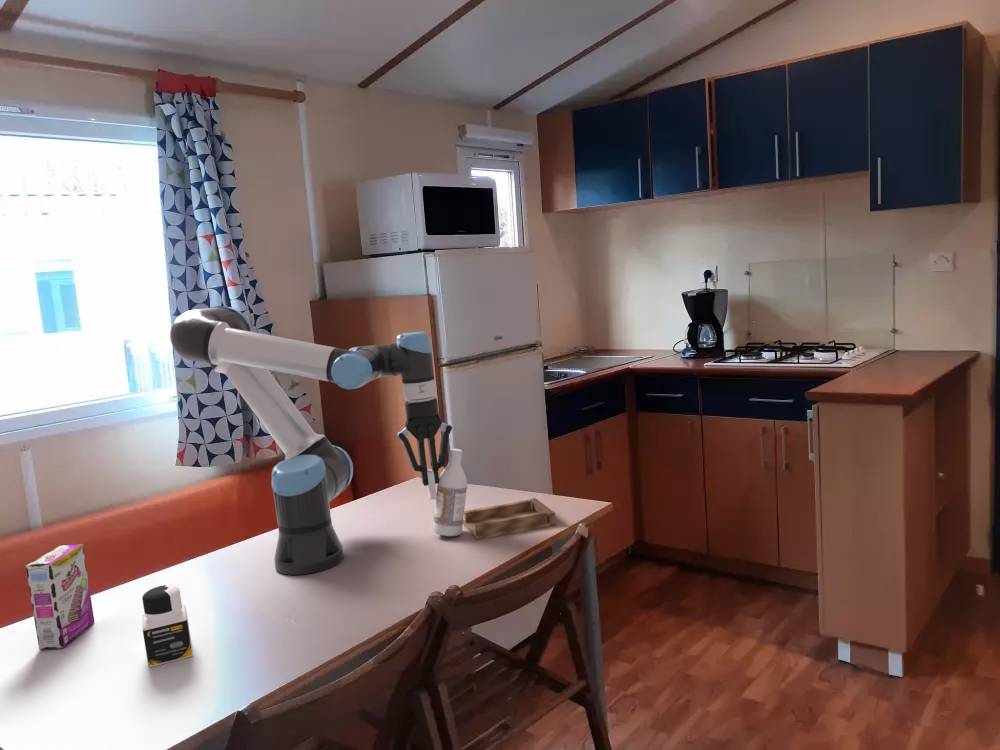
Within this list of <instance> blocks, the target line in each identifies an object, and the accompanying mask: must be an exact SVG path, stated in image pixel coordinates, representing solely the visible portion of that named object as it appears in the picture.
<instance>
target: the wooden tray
mask: <svg viewBox="0 0 1000 750" xmlns="http://www.w3.org/2000/svg"><path fill="white" fill-rule="evenodd" d="M463 525H464V528H466V529H467V531H469V533H470V534H471V535H472V536H473V537H474V539H475V540H476V541H478V540H484V539H489V538H494V537H495V538H496V537H500V536H505V535H509V534H510V535H511V534H516V533H520V532H522V533H523V532H526V531H530V530H536V529H542V528H548V527H553V526H556V525H557V524H556V512H554V511H553V510H552V509H550V508H549V507H548V506H546V505H545V504H544V503H543V502H542V501H540V500H539V499H537V498H536V497H533V498H530V499H526V500H521V501H514V502H508V503H502V504H498V505H492V506H487V507H481V508H476V509H470V510H469V509H468V510H464V517H463Z"/></svg>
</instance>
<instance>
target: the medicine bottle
mask: <svg viewBox="0 0 1000 750" xmlns="http://www.w3.org/2000/svg"><path fill="white" fill-rule="evenodd" d="M141 599H142V600H141V601H142V605H143V611H144V613H143V615H142V635H143V642H144V648H145V653H146V654H145V655H146V659H147V666H148V668H153V667H157V666H161V665H164V664H168V663H172V662H177V661H181V660H184V659H188V658H191V657H192V656H193V655H194V654H193V646H192V638H191V637H192V636H191V630H190V624H189V619H188V618H189V617H188V611H187V606H186V604H183V603H182V602H183V601H182V596H181V590H180V588H179V587H178V586H177V585H172V584H165V585H158V586H156V587H153V588H151V589H149V590H148V591H145V593H143V595H142V596H141Z"/></svg>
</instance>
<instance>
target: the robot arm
mask: <svg viewBox="0 0 1000 750" xmlns="http://www.w3.org/2000/svg"><path fill="white" fill-rule="evenodd" d="M169 333H170V335H169V337H170V338H169V339H170V342H171V344H172V347H173V349H174V350H175V352H176V353H177V354H178V355H179V356H180V357H182V358H184V359H185V360H188V361H192V362H197V363H205V364H209V366H210V367H211V368H212V369H213V371H214V372H215V373H220V374H224V375H225V376H226V377H227V379H228V380H229V381H230V383H232V385H233V387H234V388H235V389H236V390H237V392H238V393H239V394H240V396H241V397H242V399H243V400H244V401H245V402H246V404H247V405H248V406H249V408H250V410H251V411H252V412H253V413H254V415H255V416H256V417H257V419H258V420H259V422H260V423H261V424H262V426H263V427H264V428H265V429H266V431H267V432H268V433H269V435H270V436H271V437H272V439H273V440H274V441H275V442H276V444H277V445H278V447H279V448H280V449H281V451H282V452H283V453H284V455H285V456H284V460H281V461H279V462H278V463H277V464H276V465H275V466H274V467H273V468H272V470H271V489H272V493H273V500H274V506H275V515H276V521H277V522H276V523H277V529H278V536H277V537H278V539H277V543H276V549H275V552H274V553H275V554H274V559H273V560H274V567H275V571H276V572H278V573H279V574H283V575H288V576H289V575H291V576H296V575H298V576H299V575H309V574H313V573H314V574H315V573H318V572H322V571H325V570H328V569H330V568H333V567H334V566H336V565H338V564H340V563H341V562H342V561H343V559H344V557H345V555H344V547H343V545H342V543H341V541H340V539H339V536H338V535H337V532H336V530H335V529H334V526H333V522H332V516H331V515H332V514H331V513H332V512H331V508H330V502H332V501H333V500H334V499H335V498H336V497H338V496H340V494H341V493H344V492H345V490H346V489H347V487H348V486H349V485H350V483H351V481H352V478H353V474H354V466H353V465H354V464H353V461H352V459H351V456H350V455H349V453H347V451H346V450H344V449H343V448H342V447H340V446H336V445H333V444H332V443H331V442H330V440H329V439H328V438H327V436H326V435H325V434H320V433H319V434H318V433H316V432H315V431H314V430H313V428H312V427H311V425H310V423H308V421H307V420H306V419H305V418H304V416H303V414H302V413H301V412H300V410H299V409H298V408H297V407H296V406H295V403H293V401H292V399H290V397H289V396H288V395H287V393H286V392H285V391H284V389H283V387H281V385H280V384H279V382H278V381H277V380H276V378H275V377H274V376H273V374H272V373H271V372H270V371H272V372H278V373H282V374H283V373H284V374H289V375H294V376H298V377H305V378H308V379H309V378H310V379H314V380H319V381H325V382H331V383H335V385H337V386H338V387H340V388H342V389H345V390H353V389H355V390H356V389H359V388H362V387H363V386H365V385H366V384H368V383H371V382H372V381H375V380H377V379H378V378H379V379H380V378H385V377H387V378H388V377H393V376H394V377H395V376H396V377H397V376H400V378H401V384H402V390H403V392H402V393H403V400H404V401H405V403H404V408H405V409H404V410H405V417H406V421H405V425H404V428H403V429H402V430H400V431H398V432H396V436H397V437H398V438H399V440H401V441H402V444H403V446H404V449H405V451H406V453H407V457H408V459H409V463H410V465H411V467H412V470H414V471H415V472H420V473H421V474H420V475H421V482H422V483H421V484H423V486H424V487H425V486H426V488H427V496H428V498H429V500H436V499H437V495H436V494H437V486H436V484H438V483H439V477H440V475H439V469H441V468H443V467H446V462H447V451H448V446H449V445H448V444H449V435H450V433H451V432H452V430H453V426H452V425H451V424H449V423H445V422H443V419H442V418H441V416H440V413H439V404H438V403H439V402H438V399H437V398H436V396H437V388H436V381H435V380H436V379H435V372H434V363H433V349H432V347H431V341H430V337H429V334H428V333H427V332H426V331H414V332H405V333H400V334H397V336H396V342H394V343H388V344H387V343H385V344H384V343H383V344H374V345H360V346H355V347H351V348H349V349H344V348H340V347H339V348H338V347H333V346H330V345H329V346H328V345H322V344H318V343H313V342H309V341H308V342H306V341H302V340H297V339H291V338H285V337H282V336H275V335H271V334H265V333H258V332H254V331H253V329H252V325H251V322H250V320H249V319H248V318H247V316H246V315H245V314H244V313H243V312H241V311H240V310H239V309H237V308H234V307H231V306H223V305H216V306H212V307H211V306H210V307H208V308H199V309H198V308H197V309H191V310H187V311H186V312H183V313H182V314H179V316H178V317H176V319H175V320H174V322H173V323H172V324H171V329H170V332H169ZM439 430H440V431H441V435H440V436H441V437H440V445H439V453H438V456H437V448H436V437H435V436H436V435H437V433H438V431H439ZM409 433H410V434H411V435H412V436H413V438H414V439H416V444H417V446H416V447H417V454H418V460H419V461H418V462H419V463H418V462H417V459H416V456H415V453H414V451H413V449H412V445H411V443H410V441H409V437H410V436H409ZM425 439H426V440H427V445H428V452H429V461H430V468H431V469H428V467H427V466H428V465H427V456H426V450H425V449H426V448H425Z"/></svg>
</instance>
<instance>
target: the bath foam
mask: <svg viewBox="0 0 1000 750" xmlns="http://www.w3.org/2000/svg"><path fill="white" fill-rule="evenodd" d="M462 457H463V450H462V449H459V448H450V449H449V455H448V463H447V465H445V468H444V469H443V470H442V471H441V473H440V475H439V483H438V484H437V486H436V495H437V499H435V503H434V515H433V523H432V531H433V533H435V534H437V535H440V536H445V537H457V536H460V535H461V534H462V532H463V525H464V524H463V520H464V511H465V507H466V499H467V490H468V481H467V476H466V474H465V471H464V469H463V468H462V467H463V466H461V465H462Z"/></svg>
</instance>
